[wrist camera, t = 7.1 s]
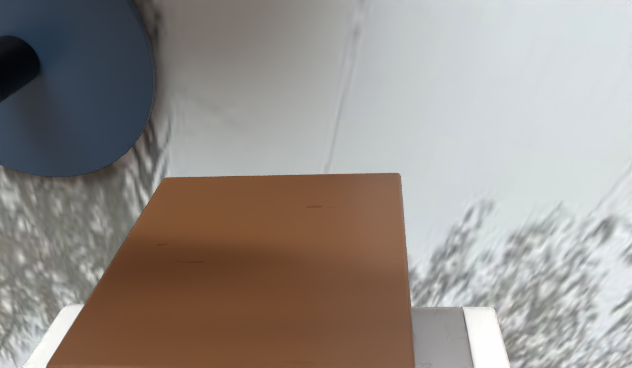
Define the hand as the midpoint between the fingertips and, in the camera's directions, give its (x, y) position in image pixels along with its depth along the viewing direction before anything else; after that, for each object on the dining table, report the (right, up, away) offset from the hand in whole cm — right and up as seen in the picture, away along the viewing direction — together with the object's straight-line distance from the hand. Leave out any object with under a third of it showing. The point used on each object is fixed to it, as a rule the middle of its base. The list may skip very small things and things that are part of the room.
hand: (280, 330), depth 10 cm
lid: (-14, +9, +17) cm, 24 cm away
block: (0, +1, +1) cm, 2 cm away
